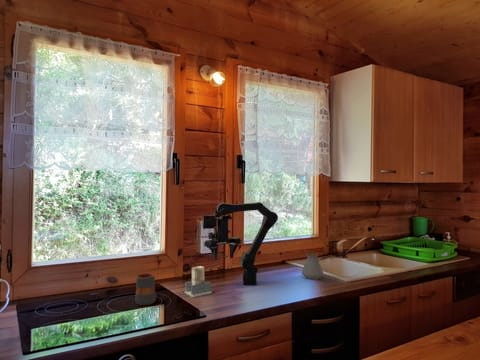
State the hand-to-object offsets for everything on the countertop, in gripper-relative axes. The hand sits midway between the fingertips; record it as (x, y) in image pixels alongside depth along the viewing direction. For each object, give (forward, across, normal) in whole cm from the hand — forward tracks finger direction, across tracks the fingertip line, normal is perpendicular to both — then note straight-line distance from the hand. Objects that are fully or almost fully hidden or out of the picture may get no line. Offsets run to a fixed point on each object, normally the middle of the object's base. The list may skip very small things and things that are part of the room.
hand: (223, 259), depth 189 cm
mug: (+13, +41, 0) cm, 43 cm away
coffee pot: (+13, -46, +22) cm, 52 cm away
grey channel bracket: (+13, +16, +4) cm, 21 cm away
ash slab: (+12, +16, +4) cm, 21 cm away
